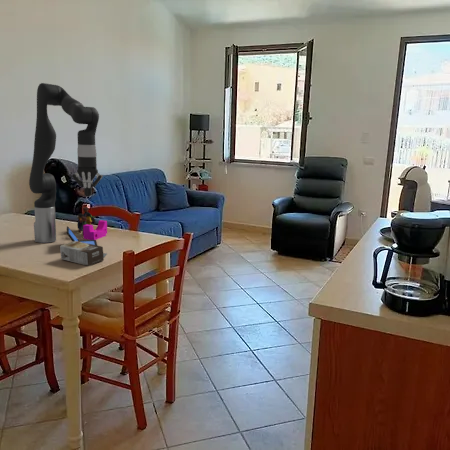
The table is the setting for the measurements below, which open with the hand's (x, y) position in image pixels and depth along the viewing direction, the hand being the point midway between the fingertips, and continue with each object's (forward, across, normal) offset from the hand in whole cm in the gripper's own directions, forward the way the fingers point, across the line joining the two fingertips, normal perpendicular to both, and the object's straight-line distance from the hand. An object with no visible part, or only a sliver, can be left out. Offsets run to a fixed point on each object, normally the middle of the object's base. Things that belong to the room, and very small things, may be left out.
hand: (88, 196), depth 188 cm
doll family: (+27, -15, +45) cm, 55 cm away
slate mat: (+27, 0, 0) cm, 27 cm away
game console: (+28, -9, +18) cm, 34 cm away
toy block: (+27, -7, +38) cm, 47 cm away
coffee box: (+23, -9, -2) cm, 25 cm away
